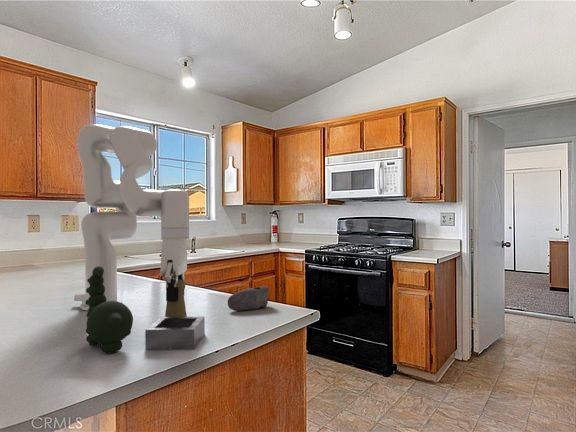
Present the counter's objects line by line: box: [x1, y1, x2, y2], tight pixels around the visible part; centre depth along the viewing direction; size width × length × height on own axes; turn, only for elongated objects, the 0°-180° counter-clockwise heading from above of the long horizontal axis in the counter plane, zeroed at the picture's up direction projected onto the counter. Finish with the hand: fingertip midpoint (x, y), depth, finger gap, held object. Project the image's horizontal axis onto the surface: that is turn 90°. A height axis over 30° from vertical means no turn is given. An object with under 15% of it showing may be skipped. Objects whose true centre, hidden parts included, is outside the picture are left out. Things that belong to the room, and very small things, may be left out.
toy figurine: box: [85, 266, 134, 355], centre depth 90 cm, size 9×19×25 cm
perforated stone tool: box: [227, 285, 270, 312], centre depth 123 cm, size 15×5×7 cm, turn 118°
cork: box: [164, 278, 188, 317], centre depth 107 cm, size 6×6×11 cm
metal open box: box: [144, 316, 206, 351], centre depth 92 cm, size 11×11×4 cm
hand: (175, 298), depth 107 cm, fingers closed on cork, 5 cm apart
